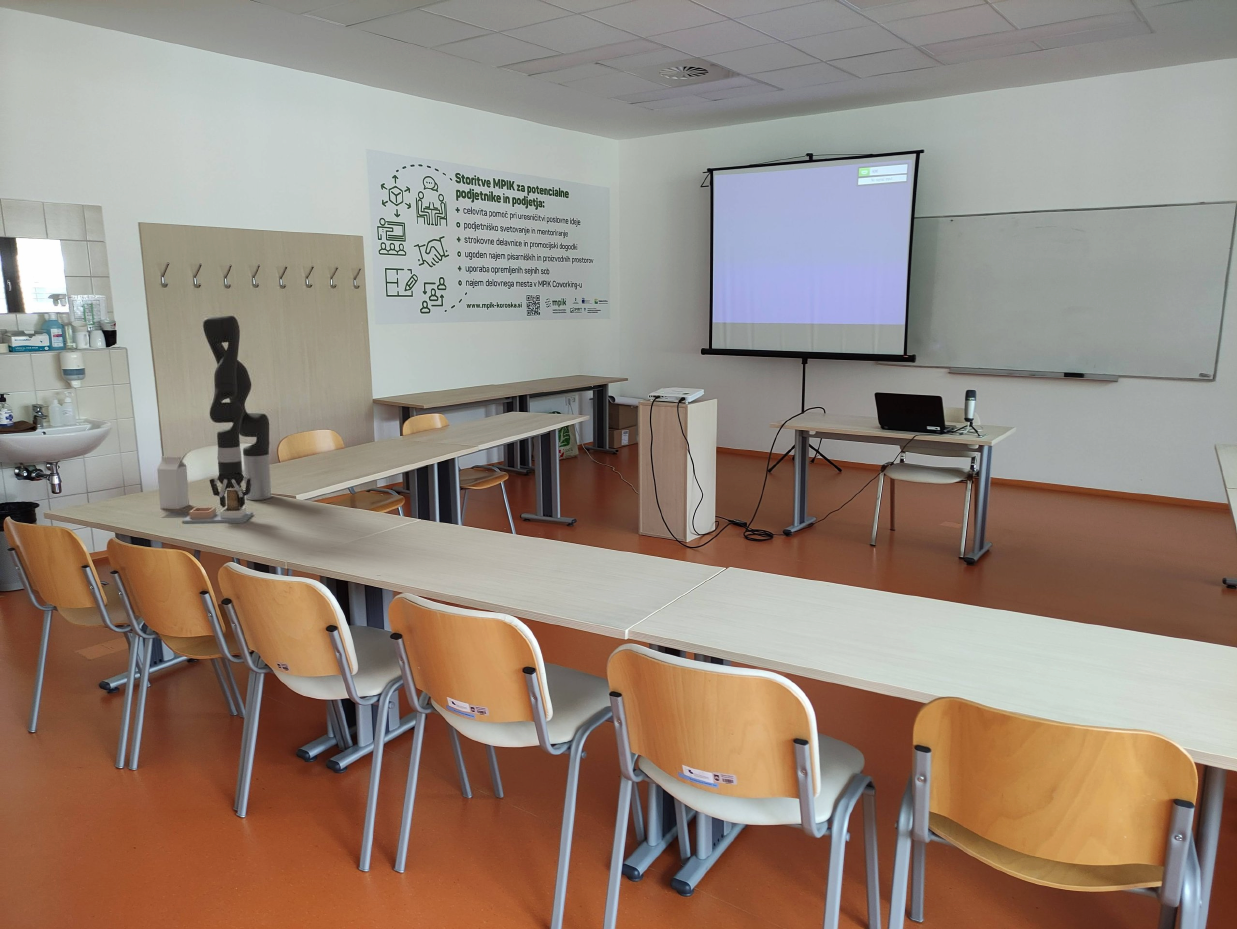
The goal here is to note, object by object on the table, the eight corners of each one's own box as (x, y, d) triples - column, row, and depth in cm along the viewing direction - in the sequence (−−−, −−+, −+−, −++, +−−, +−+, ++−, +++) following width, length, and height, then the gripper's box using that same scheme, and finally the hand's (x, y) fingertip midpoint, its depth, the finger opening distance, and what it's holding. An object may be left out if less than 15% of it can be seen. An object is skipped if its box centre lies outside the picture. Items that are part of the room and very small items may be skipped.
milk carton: (179, 509, 311) (175, 458, 307) (160, 509, 311) (156, 458, 307) (189, 505, 318) (185, 455, 314) (170, 504, 318) (166, 454, 314)
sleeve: (229, 514, 300) (228, 489, 299) (240, 514, 301) (240, 489, 300) (225, 516, 296) (225, 490, 295) (237, 516, 297) (237, 490, 296)
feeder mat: (171, 512, 306) (170, 511, 306) (197, 512, 308) (197, 511, 308) (161, 518, 298) (161, 517, 297) (189, 518, 299) (189, 517, 299)
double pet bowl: (193, 515, 302) (193, 505, 302) (253, 514, 305) (252, 504, 305) (182, 524, 291) (181, 513, 290) (243, 522, 294) (243, 512, 293)
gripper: (254, 457, 300) (257, 504, 303) (211, 457, 298) (214, 504, 301) (248, 461, 292) (251, 509, 295) (204, 461, 290) (207, 509, 293)
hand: (232, 506), depth 298 cm, fingers open, 5 cm apart
